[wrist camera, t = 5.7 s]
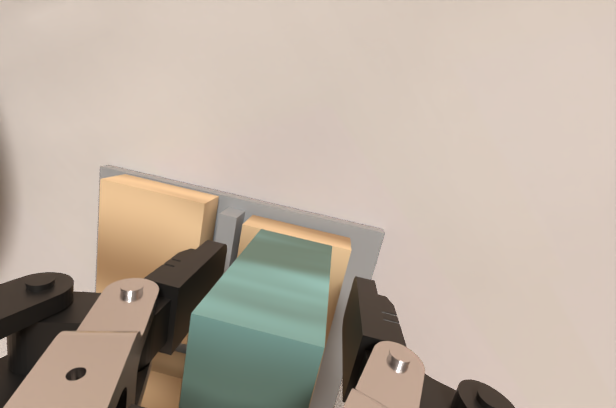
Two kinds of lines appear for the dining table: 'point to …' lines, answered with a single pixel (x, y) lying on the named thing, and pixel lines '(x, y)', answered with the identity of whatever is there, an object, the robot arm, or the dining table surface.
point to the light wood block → (148, 226)
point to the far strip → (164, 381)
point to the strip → (266, 320)
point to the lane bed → (241, 208)
